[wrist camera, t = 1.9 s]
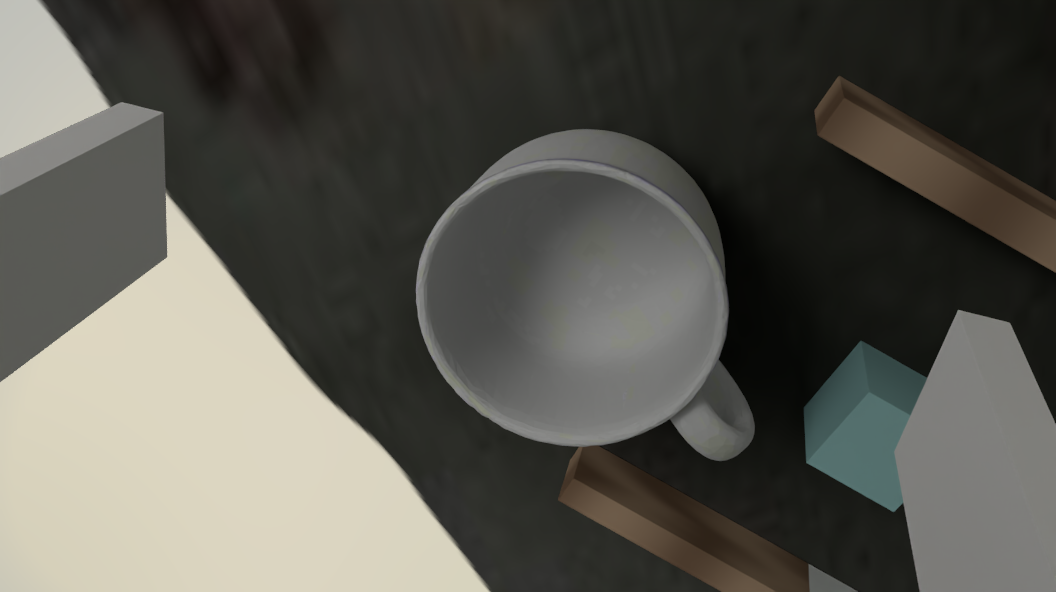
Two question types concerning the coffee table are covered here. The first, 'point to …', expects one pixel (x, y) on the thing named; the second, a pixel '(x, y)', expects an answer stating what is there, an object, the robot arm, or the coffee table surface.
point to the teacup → (585, 297)
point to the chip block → (862, 423)
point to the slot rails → (918, 163)
